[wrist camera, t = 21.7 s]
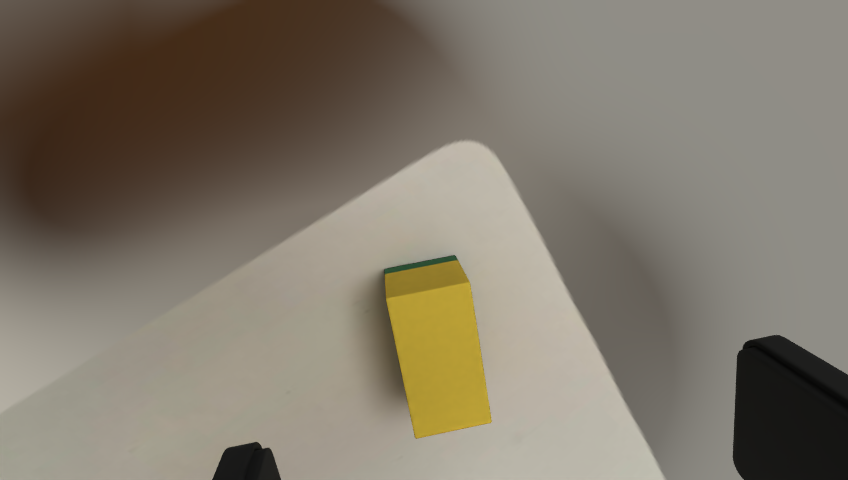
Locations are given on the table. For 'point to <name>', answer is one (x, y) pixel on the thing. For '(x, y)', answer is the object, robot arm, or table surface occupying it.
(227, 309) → the table surface
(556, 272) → the table surface
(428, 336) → the sponge
